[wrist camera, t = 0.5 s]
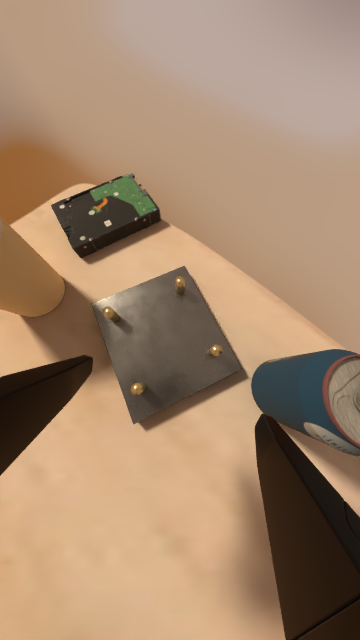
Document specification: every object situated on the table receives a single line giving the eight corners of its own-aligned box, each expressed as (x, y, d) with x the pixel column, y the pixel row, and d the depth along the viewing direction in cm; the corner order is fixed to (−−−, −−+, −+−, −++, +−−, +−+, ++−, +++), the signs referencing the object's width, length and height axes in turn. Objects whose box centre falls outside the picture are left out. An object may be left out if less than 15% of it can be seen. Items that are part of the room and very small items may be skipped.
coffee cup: (18, 264, 28) (-94, 186, 17) (77, 267, 28) (4, 190, 16) (-4, 321, 25) (-157, 275, 14) (62, 324, 25) (-39, 281, 14)
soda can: (277, 433, 21) (393, 502, 9) (235, 383, 23) (292, 391, 11) (315, 393, 22) (459, 412, 11) (274, 349, 24) (360, 324, 12)
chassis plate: (238, 369, 23) (249, 367, 19) (136, 421, 21) (127, 431, 17) (184, 271, 27) (185, 254, 24) (96, 307, 26) (81, 296, 22)
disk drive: (83, 261, 29) (162, 222, 31) (73, 250, 26) (160, 207, 28) (60, 219, 31) (134, 185, 34) (49, 204, 29) (130, 168, 31)
